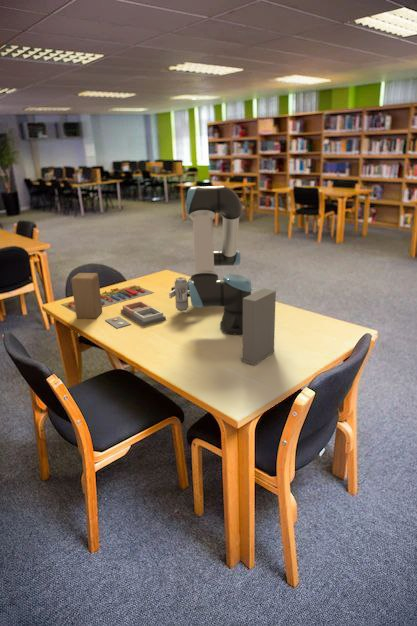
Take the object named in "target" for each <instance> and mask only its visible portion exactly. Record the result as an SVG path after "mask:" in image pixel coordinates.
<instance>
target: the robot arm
mask: <svg viewBox="0 0 417 626" xmlns="http://www.w3.org/2000/svg"><path fill="white" fill-rule="evenodd" d="M186 194H187V195H186V206H185V207H186V208H185V210H186V211H185V212H186V214H188V215H189V219H190V220H192V226H193V227H192V228H193V230H192V231H193V264H194V265H193V266H194V268H193V269H194V270H193V271H194V272H193V273H192V275H191V276H190V278H189V279H188V280H187V283H188V291H186V292H185V293H183V294H182V300H185V299H186V298H188V299H189V298H190V303H191V306H193V307H194V308H215V307H216V308H218V307H219V308H221V307H222V308H223V314H222V317H221V321H220V324H219V325H220V326H219V327H220V328H219V329H220V330H221V331H222V332H223V333H226V334H228V335H234V336H235V335H238V336H239V335H243V298H245V297H247V296H249V295H251V294H252V292H253V291H252V290H253V289H252V282H251V280H250V279H249V278H248V277H247V276H244V275H239V274H234V273H233V274H231V273H230V274H225V275H224V276H223V278H221V279H219V275H218V273H217V272H216V271H215V267H218V266H219V267H221V266H222V267H226V266H227V267H228V266H229V267H230V266H231V267H233V266H239V265H240V264H241V251H239V250H238V242H239V241H238V239H239V225H240V224H239V223H240V217H242V213H243V205H242V202H241V199H240V198H239V196H238V194H237V192H235V191H234V190H233V189H232V188H230V187H228V186H225V185H214V186H213V185H212V186H211V185H208V186H207V185H206V186H205V185H204V186H203V185H202V186H200V185H198V186H190V187H189V188H188V190H187V192H186ZM217 214H220V215H221V217H222V237H221V238H222V242H221V247H222V248H221V250H219V251H218V250H217V251H216V250H214V249H215V248H214V228H213V227H214V225H213V224H214V222H213V220H214V219H216V216H217ZM168 294H169V299H172V298H174V297H175V285H174V286H172V287H171V290H170V292H169V293H168Z"/></svg>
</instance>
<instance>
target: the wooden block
mask: <svg viewBox="0 0 417 626" xmlns="http://www.w3.org/2000/svg"><path fill="white" fill-rule="evenodd" d="M70 281H71V289H72V297H73V301H74V304H75V311H76V313H75V317H76V318H77V319H88V320H89V319H94V320H95V319H97V318H98V317H99V316H100V315H101V314H102V312H103V307H102V304H101V295H100V294H101V288H100V281H99V274H98V273H97V272H78V273H77V274H76V275H74V276H73V277H71V280H70Z"/></svg>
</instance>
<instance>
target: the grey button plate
mask: <svg viewBox="0 0 417 626" xmlns="http://www.w3.org/2000/svg"><path fill="white" fill-rule="evenodd" d="M105 322H106V323H108V324H109V325H111V326H113V328H115V329H120V328H124V327H126V326H127V327H128V326H131V325H132V323H130V322H129V321H127V320H126V319H124V318H123V317H121V316H114V317H111V318H107V319H105Z"/></svg>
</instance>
